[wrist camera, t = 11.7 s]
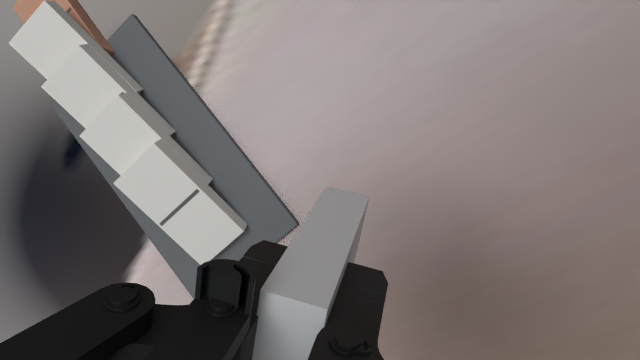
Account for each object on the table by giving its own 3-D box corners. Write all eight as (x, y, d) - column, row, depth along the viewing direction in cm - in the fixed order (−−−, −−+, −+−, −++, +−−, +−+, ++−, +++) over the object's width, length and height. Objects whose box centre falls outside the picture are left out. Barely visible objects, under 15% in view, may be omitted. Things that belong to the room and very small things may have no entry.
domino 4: (207, 184, 39) (117, 95, 37) (168, 221, 40) (79, 136, 39) (212, 178, 41) (126, 92, 39) (174, 214, 42) (89, 132, 40)
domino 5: (243, 231, 39) (153, 143, 37) (202, 267, 40) (113, 183, 38) (247, 223, 40) (161, 138, 38) (207, 258, 41) (121, 177, 39)
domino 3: (170, 135, 40) (78, 44, 38) (132, 172, 41) (40, 86, 39) (176, 131, 42) (88, 44, 39) (139, 167, 43) (52, 84, 41)
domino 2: (136, 91, 40) (43, 0, 38) (100, 129, 42) (8, 43, 40) (143, 89, 42) (55, 1, 40) (108, 126, 43) (20, 42, 41)
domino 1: (101, 46, 41) (44, -33, 43) (65, 85, 42) (12, 6, 44) (114, 51, 43) (59, -25, 44) (80, 89, 44) (27, 12, 46)
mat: (299, 223, 40) (297, 224, 39) (202, 304, 42) (199, 306, 42) (136, 15, 43) (131, 13, 42) (55, 104, 45) (50, 103, 45)
